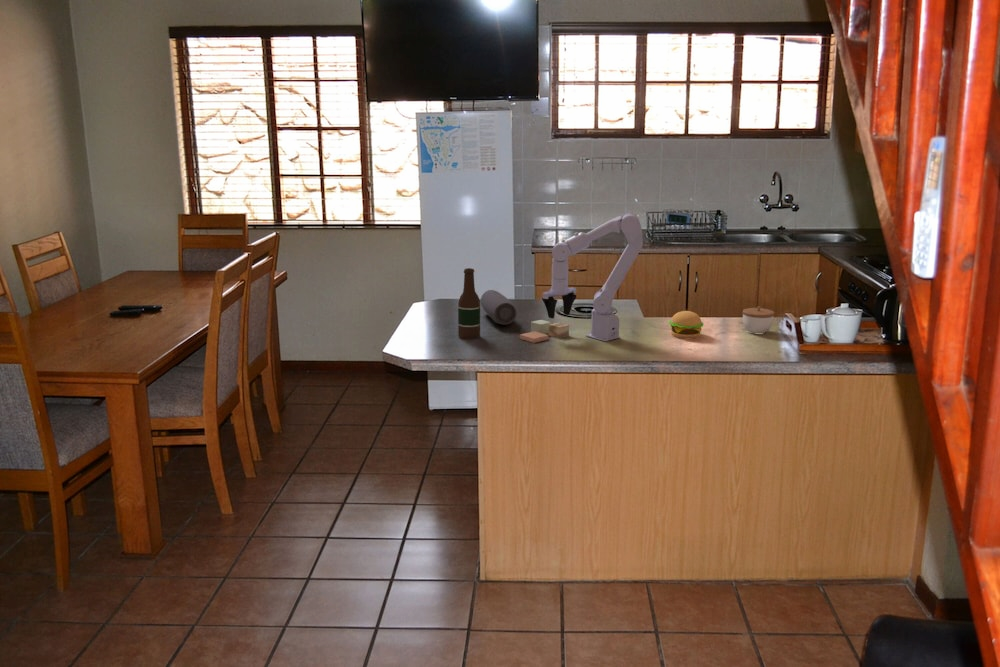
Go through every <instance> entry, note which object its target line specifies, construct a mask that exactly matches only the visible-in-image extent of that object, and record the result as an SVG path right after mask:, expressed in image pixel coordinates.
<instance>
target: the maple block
mask: <svg viewBox="0 0 1000 667" xmlns="http://www.w3.org/2000/svg"><path fill="white" fill-rule="evenodd" d="M548 335H549V336H550V337H554V338H557V339H560V338H561V339H562V338H565V337H569V336H570V325H569V324H566V323H562V322H554V323H551V324H549V333H548Z"/></svg>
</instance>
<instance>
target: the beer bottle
mask: <svg viewBox="0 0 1000 667" xmlns="http://www.w3.org/2000/svg"><path fill="white" fill-rule="evenodd" d="M463 273H464V277H463V289H462V293H461V295H460V296H459V299H458V305H457V306H458V307H457V314H458V315H457V316H458V317H457V318H458V319H457V320H458V321H457V328H458V330H457V332H458V333H457V334H458V338H460V339H462V338H463V339H462V340H475V339H479V337H480V336H481V298H480V297H479V295H478V293H477V292H476V288H475V287H476V286H475V269H474V268H471V267H470V268H464V270H463Z"/></svg>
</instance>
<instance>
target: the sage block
mask: <svg viewBox="0 0 1000 667" xmlns="http://www.w3.org/2000/svg"><path fill="white" fill-rule="evenodd" d="M549 324H552V322H551V321H547V320H544V319H538V320H533V321H530V332H534V331H535V332H539V333H543V334H546V335H549Z"/></svg>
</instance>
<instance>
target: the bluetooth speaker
mask: <svg viewBox="0 0 1000 667" xmlns="http://www.w3.org/2000/svg"><path fill="white" fill-rule="evenodd" d="M480 306H481V307H482V309H483V310H484V312H486V314H487V316H488V317H490V318H491V320H492V321H493V322H494V323H495V324H498V325H503V326H504V325H510V324H512V323H513V322H514V321H515V319H516V318H517V310H516V309H517V308H516V307H515V306H514V304H513V303H512V301H511V300H509V299H508V298H507V297H506V296H505V295H503V294H502V293H500V292H499V291H497V290H495V289H493V290H492V289H489V290H486V291H484V293H483V294H482V295H481V296H480Z"/></svg>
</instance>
